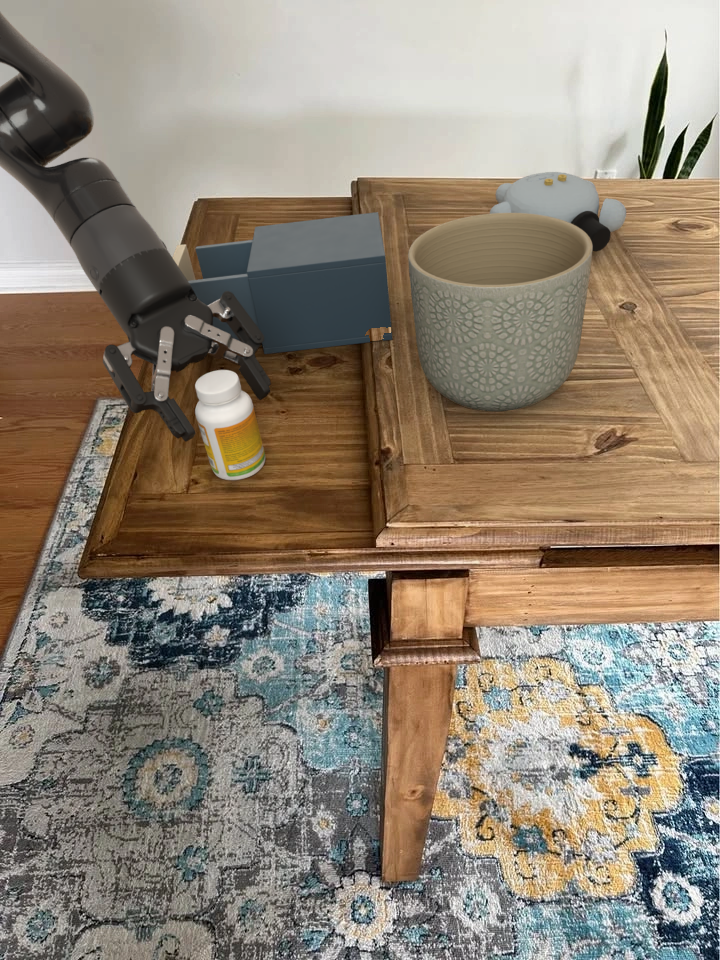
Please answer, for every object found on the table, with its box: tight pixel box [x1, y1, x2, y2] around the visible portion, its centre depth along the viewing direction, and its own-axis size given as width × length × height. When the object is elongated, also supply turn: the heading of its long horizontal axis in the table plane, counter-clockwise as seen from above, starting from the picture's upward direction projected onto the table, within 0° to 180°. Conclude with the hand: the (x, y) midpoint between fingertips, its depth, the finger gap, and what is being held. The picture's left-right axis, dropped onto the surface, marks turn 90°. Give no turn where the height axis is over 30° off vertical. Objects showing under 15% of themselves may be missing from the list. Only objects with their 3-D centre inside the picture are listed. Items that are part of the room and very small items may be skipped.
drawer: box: [172, 239, 259, 343], centre depth 90 cm, size 20×12×9 cm, turn 92°
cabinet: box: [247, 211, 393, 355], centre depth 90 cm, size 16×14×11 cm
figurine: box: [489, 171, 627, 252], centre depth 103 cm, size 17×8×20 cm
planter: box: [407, 213, 593, 413], centre depth 73 cm, size 17×17×15 cm
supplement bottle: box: [194, 369, 266, 481], centre depth 69 cm, size 5×5×10 cm
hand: (229, 416), depth 68 cm, fingers open, 8 cm apart
